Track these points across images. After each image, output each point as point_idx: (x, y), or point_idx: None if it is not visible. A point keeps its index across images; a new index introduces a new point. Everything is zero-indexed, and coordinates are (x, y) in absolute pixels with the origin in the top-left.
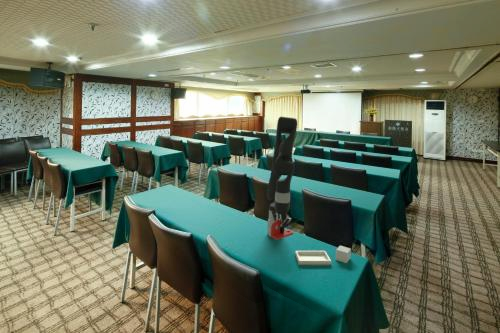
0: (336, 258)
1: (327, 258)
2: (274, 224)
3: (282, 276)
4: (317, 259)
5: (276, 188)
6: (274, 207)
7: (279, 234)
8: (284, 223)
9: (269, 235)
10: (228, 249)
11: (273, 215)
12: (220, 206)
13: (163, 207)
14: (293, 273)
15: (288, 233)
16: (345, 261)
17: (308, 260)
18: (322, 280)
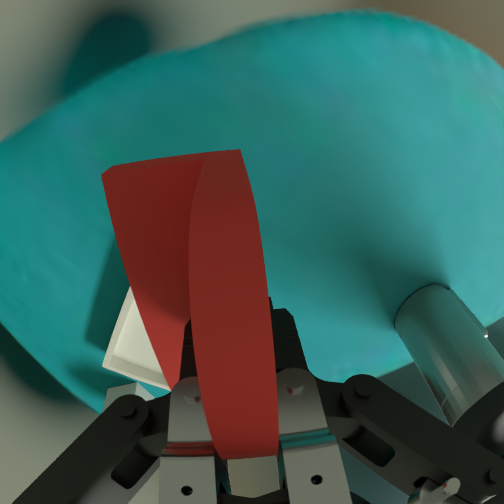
0: (133, 387)
1: (130, 368)
2: (192, 314)
3: (89, 117)
4: (147, 342)
5: None
6: (499, 413)
7: (181, 267)
8: (103, 450)
9: (437, 287)
10: (465, 46)
11: (453, 450)
12: None
13: None
14: (90, 185)
15: (166, 357)
16: (109, 392)
17: (125, 305)
18: (23, 263)
